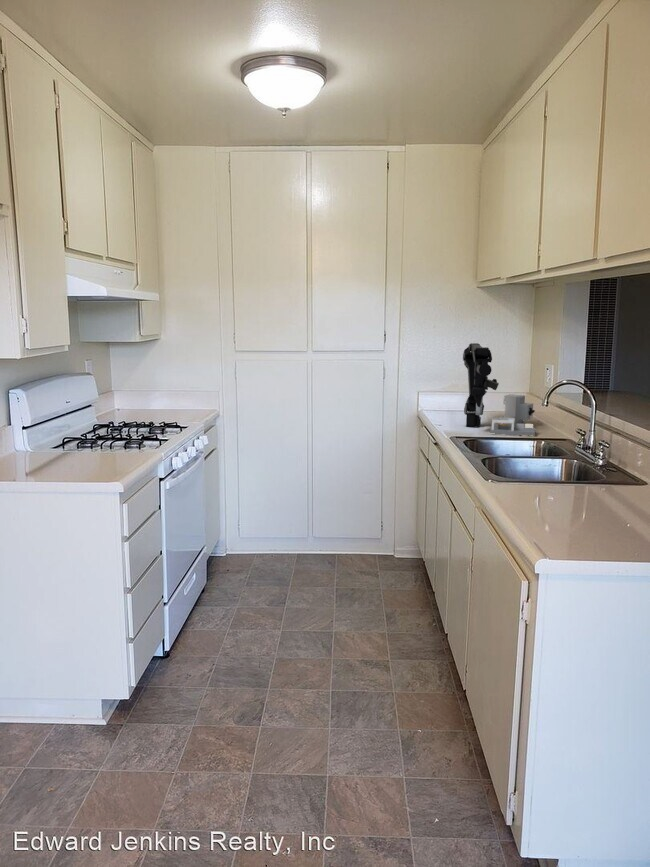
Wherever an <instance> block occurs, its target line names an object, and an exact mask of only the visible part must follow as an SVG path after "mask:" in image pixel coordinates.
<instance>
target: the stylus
mask: <svg viewBox="0 0 650 867" xmlns="http://www.w3.org/2000/svg"><path fill="white" fill-rule="evenodd" d="M483 400H484V396H483V397H482V401H481V406H480V407H478V406H477V403H476V415H480V416H482V415H483V414H482V405H484V402H483Z"/></svg>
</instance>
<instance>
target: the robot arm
mask: <svg viewBox="0 0 650 867" xmlns="http://www.w3.org/2000/svg"><path fill="white" fill-rule="evenodd" d="M480 344H481V343H469V344H468V347H466V348H465V349H464V350H463V353H462V361H463V362H464V363H463V364H464V366H465V368H466V369H467V379H468V397H467V399H466V402H465V405H464V408H463V413H464V415H466V417H465V418H466V420H465V421H466V422H465V427H467V428H468V427H469V428H480V426H481V423H482V422H481V420H482V417H481V415H476V403H477V406H478V407H480V406H481V401H482V397H483V398H484V396H485V395H486V394H487V392H488V390H489V388H490V389H492V390H494V391H497V389H498V387H499V385H500V383H499V382H498V380H497V379H496V378H492V379H490V378H488V377H489V376H490V375H491V373H492V366H491V365H490V364H489V363H492V360H493V356H492V352H491V350H490V348H489V346H488V347H483V346H481V345H480ZM484 408H485V405H484V404H483V405H482V415H483V414H484Z"/></svg>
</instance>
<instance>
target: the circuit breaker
mask: <svg viewBox="0 0 650 867" xmlns="http://www.w3.org/2000/svg"><path fill="white" fill-rule="evenodd" d="M503 405H504V415H503V416H502V417H505V418H515V427H516V424H525V422H524V421H528V420H532V419H533V413H535V412H536V410H535V409H534V403H532V402H531V403H530V402H526V395H525V394H523V395H522V394H510V393H509V394H506V395H504V398H503ZM502 424H506V425H509V426H508V427H512V423H502Z"/></svg>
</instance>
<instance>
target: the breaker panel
mask: <svg viewBox="0 0 650 867" xmlns="http://www.w3.org/2000/svg"><path fill="white" fill-rule="evenodd" d="M497 423H498V425H496V424H497ZM503 423H512V426H509V425H506V426H500V424H503ZM525 424H526V423H524V424H516V427H515V418H505V417H503V416H493V417H492V419H491V428H490V429H489V430H490V431H489V432H490V433H495V434H494V435H496V434H505V435H504V436H515V435H533V436H536V427H535V426H533V428H525ZM490 433H489V434H490ZM533 436H532V437H533Z"/></svg>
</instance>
